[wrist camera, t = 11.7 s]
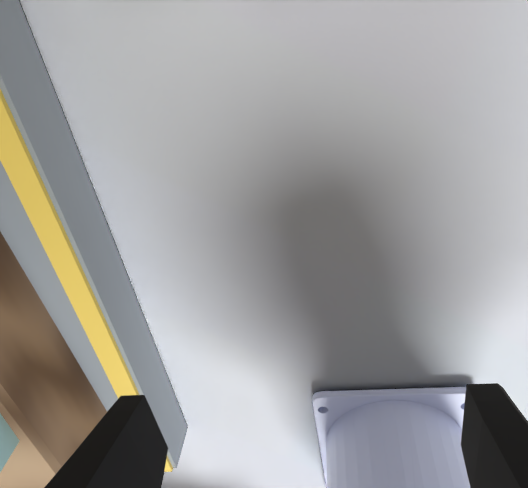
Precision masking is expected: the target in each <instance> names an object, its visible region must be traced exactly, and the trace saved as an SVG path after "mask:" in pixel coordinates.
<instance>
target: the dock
mask: <svg viewBox="0 0 528 488" xmlns="http://www.w3.org/2000/svg"><path fill="white" fill-rule="evenodd" d="M0 232H1V233H2V235H3V237H4V238H5V240H6V242H7V243H8V245H9V247H10V248H11V250H12V252H13V254H14V255H15V257H16V259H17V260H18V262H19V264H20V265H21V267H22V269H23V270H24V272H25V274H26V276H27V277H28V279H29V281H30V282H31V284H32V286H33V287H34V289H35V291H36V292H37V294H38V296H39V298H40V299H41V301H42V303H43V304H44V306H45V308H46V309H47V311H48V313H49V314H50V316H51V318H52V319H53V321H54V323H55V325H56V326H57V328H58V330H59V331H60V333H61V335H62V336H63V338H64V340H65V341H66V343H67V345H68V347H69V348H70V350H71V352H72V353H73V355H74V357H75V358H76V360H77V362H78V363H79V365H80V367H81V368H82V370H83V372H84V374H85V375H86V377H87V379H88V380H89V382H90V384H91V385H92V387H93V389H94V390H95V392H96V394H97V396H98V397H99V399H100V401H101V402H102V404H103V406H104V407H105V409H106V411H107V412H108V410H109V409H110V408H111V407H112V406H113V404H114V403H115V402H116V401H117V400H118V398H119V397H120V396H125V395H145V397H146V399H147V401H148V404H149V406H150V408H151V410H152V412H153V415H154V417H155V419H156V421H157V424H158V426H159V428H160V430H161V433H162V435H163V437H164V439H165V442H166V444H167V446H168V453H167V458H166V464H165V470H164V472H172V470H173V468H177V465H178V461H179V457H180V454H181V450H182V446H183V443H184V439H185V435H186V432H187V428H188V427H187V424H186V422H185V419H184V416H183V414H182V411H181V409H180V406H179V404H178V401H177V399H176V396H175V394H174V391H173V389H172V386H171V384H170V381H169V379H168V376H167V374H166V371H165V368H164V366H163V363H162V361H161V358H160V356H159V353H158V351H157V348H156V346H155V343H154V341H153V338H152V336H151V333H150V331H149V328H148V325H147V323H146V320H145V318H144V315H143V313H142V310H141V308H140V305H139V303H138V300H137V298H136V295H135V293H134V290H133V288H132V285H131V282H130V280H129V277H128V275H127V272H126V270H125V267H124V265H123V262H122V260H121V257H120V255H119V252H118V250H117V247H116V245H115V242H114V239H113V237H112V234H111V232H110V229H109V227H108V224H107V222H106V219H105V217H104V214H103V212H102V209H101V207H100V204H99V202H98V199H97V196H96V194H95V191H94V189H93V186H92V184H91V181H90V179H89V176H88V174H87V171H86V169H85V166H84V164H83V161H82V159H81V156H80V154H79V151H78V148H77V146H76V143H75V141H74V138H73V136H72V133H71V131H70V128H69V126H68V123H67V121H66V118H65V116H64V113H63V111H62V108H61V105H60V103H59V100H58V98H57V95H56V93H55V90H54V88H53V85H52V83H51V80H50V78H49V75H48V73H47V70H46V68H45V65H44V62H43V60H42V57H41V55H40V52H39V50H38V47H37V45H36V42H35V40H34V37H33V35H32V32H31V30H30V27H29V25H28V22H27V19H26V17H25V14H24V12H23V9H22V7H21V4H20V2H19V0H0Z"/></svg>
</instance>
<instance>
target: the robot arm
mask: <svg viewBox="0 0 528 488" xmlns="http://www.w3.org/2000/svg"><path fill="white" fill-rule="evenodd" d="M312 405H313V411H314V417H315V423H316V429H317V435H318V441H319V447H320V453H321V459H322V465H323V471H324V477H325V483H326V488H528V421H527V420H526V419H525V417H524V416H523V415H522V413H521V412H520V411H519V409H518V408H517V407H516V405H515V404H514V403H513V401H512V400H511V398H510V397H509V396H508V394H507V393H506V391H505V390H504V389H503V387H501V386H500V385H499V384H498V383H497V384H466V387H443V388H411V389H379V390H347V391H320V392H316V393H315V394H314V395H313V396H312ZM167 453H168V446H167V444H166V442H165V439H164V437H163V435H162V433H161V430H160V428H159V426H158V424H157V421H156V419H155V417H154V415H153V412H152V410H151V408H150V406H149V404H148V401H147V399H146V397H145V395H125V396H120V397H119V398H118V400H117V401H116V402H115V403H114V404H113V406H112V407H111V408H110V409H109V410H108V412H107V413H106V414H105V415H104V416H103V418H102V419H101V420H100V421H99V423H98V424H97V425H96V426H95V427H94V429H93V430H92V431H91V432H90V434H89V435H88V436H87V437H86V438H85V440H84V441H83V442H82V443H81V445H80V446H79V447H78V448H77V449H76V451H75V452H74V453H73V454H72V455H71V457H70V458H69V459H68V460H67V461H66V463H65V464H64V465H63V466H62V467H61V468H60V470H59V471H58V472H57V473H56V474H55V476H54V477H53V478H52V479H51V480H50V481H49V483H48V484H47V485H46V486H45V487H44V488H161V485H162V480H163V475H164V470H165V464H166V458H167Z"/></svg>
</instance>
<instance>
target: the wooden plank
mask: <svg viewBox="0 0 528 488" xmlns="http://www.w3.org/2000/svg"><path fill="white" fill-rule="evenodd" d="M106 413H107V411H106V409H105V407H104V406H103V404H102V402H101V401H100V399H99V397H98V396H97V394H96V392H95V390H94V389H93V387H92V385H91V384H90V382H89V380H88V379H87V377H86V375H85V374H84V372H83V370H82V368H81V367H80V365H79V363H78V362H77V360H76V358H75V357H74V355H73V353H72V352H71V350H70V348H69V347H68V345H67V343H66V341H65V340H64V338H63V336H62V335H61V333H60V331H59V330H58V328H57V326H56V325H55V323H54V321H53V319H52V318H51V316H50V314H49V313H48V311H47V309H46V308H45V306H44V304H43V303H42V301H41V299H40V298H39V296H38V294H37V292H36V291H35V289H34V287H33V286H32V284H31V282H30V281H29V279H28V277H27V276H26V274H25V272H24V270H23V269H22V267H21V265H20V264H19V262H18V260H17V259H16V257H15V255H14V254H13V252H12V250H11V248H10V247H9V245H8V243H7V242H6V240H5V238H4V237H3V235H2V233H1V232H0V414H1V415H2V416H3V418H4V419H5V421H6V422H7V423H8V425H9V426H10V428H11V429H12V431H13V432H14V433H15V435H16V436H17V438H18V439H19V443H18V444H17V446H16V448H15V449H14V451H13V453H12V454H11V456H10V458H9V459H8V461H7V462H6V464H5V466H4V467H3V469H2V471H1V472H0V488H44V487H45V486H46V485H47V484H48V483H49V481H50V480H51V479H52V478H53V477H54V476H55V474H56V473H57V472H58V471H59V470H60V468H61V467H62V466H63V465H64V464H65V463H66V461H67V460H68V459H69V458H70V457H71V455H72V454H73V453H74V452H75V451H76V449H77V448H78V447H79V446H80V445H81V443H82V442H83V441H84V440H85V438H86V437H87V436H88V435H89V434H90V432H91V431H92V430H93V429H94V427H95V426H96V425H97V424H98V423H99V421H100V420H101V419H102V418H103V416H104V415H105V414H106Z"/></svg>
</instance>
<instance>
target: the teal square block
mask: <svg viewBox="0 0 528 488" xmlns="http://www.w3.org/2000/svg"><path fill="white" fill-rule="evenodd" d="M18 443H19V439H18V438H17V436H16V435H15V433H14V432H13V431H12V429H11V428H10V426H9V425H8V423H7V422H6V421H5V419H4V418H3V416H2V415H1V414H0V472H1V471H2V469H3V467H4V466H5V464H6V462H7V461H8V459H9V458H10V456H11V454H12V453H13V451H14V449H15V448H16V446H17V444H18Z"/></svg>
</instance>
